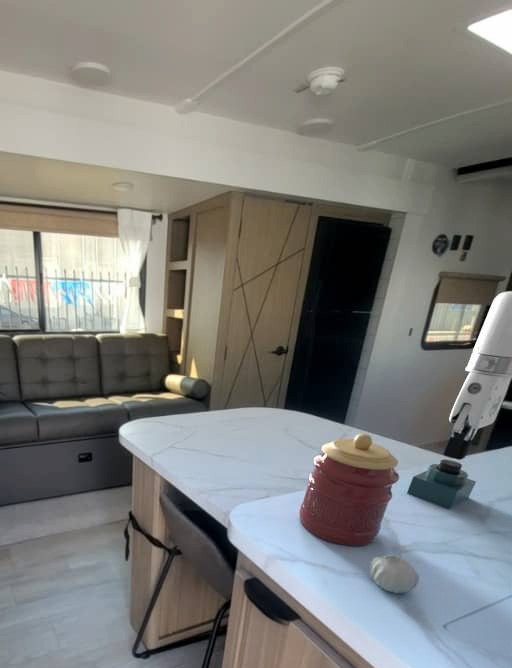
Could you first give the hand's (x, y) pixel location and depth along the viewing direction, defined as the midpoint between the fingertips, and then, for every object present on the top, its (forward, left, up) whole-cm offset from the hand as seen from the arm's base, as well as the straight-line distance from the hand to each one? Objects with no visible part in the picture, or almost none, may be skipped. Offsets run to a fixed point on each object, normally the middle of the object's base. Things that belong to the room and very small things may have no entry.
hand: (453, 456), depth 83 cm
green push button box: (0, 0, -9) cm, 9 cm away
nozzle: (0, 0, -3) cm, 3 cm away
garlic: (+27, +32, -9) cm, 43 cm away
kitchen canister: (+28, +16, -9) cm, 33 cm away
